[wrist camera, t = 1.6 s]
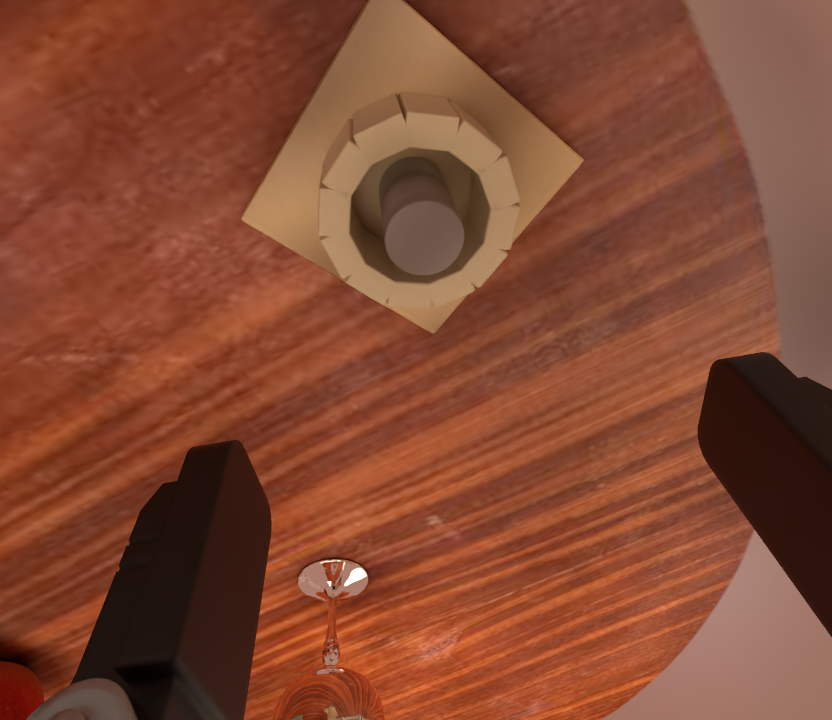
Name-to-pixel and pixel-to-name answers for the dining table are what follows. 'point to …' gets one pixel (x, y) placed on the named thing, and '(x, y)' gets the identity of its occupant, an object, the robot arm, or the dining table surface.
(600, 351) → the dining table surface
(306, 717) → the wineglass
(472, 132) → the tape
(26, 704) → the apple
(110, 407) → the dining table surface
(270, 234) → the peg stand
